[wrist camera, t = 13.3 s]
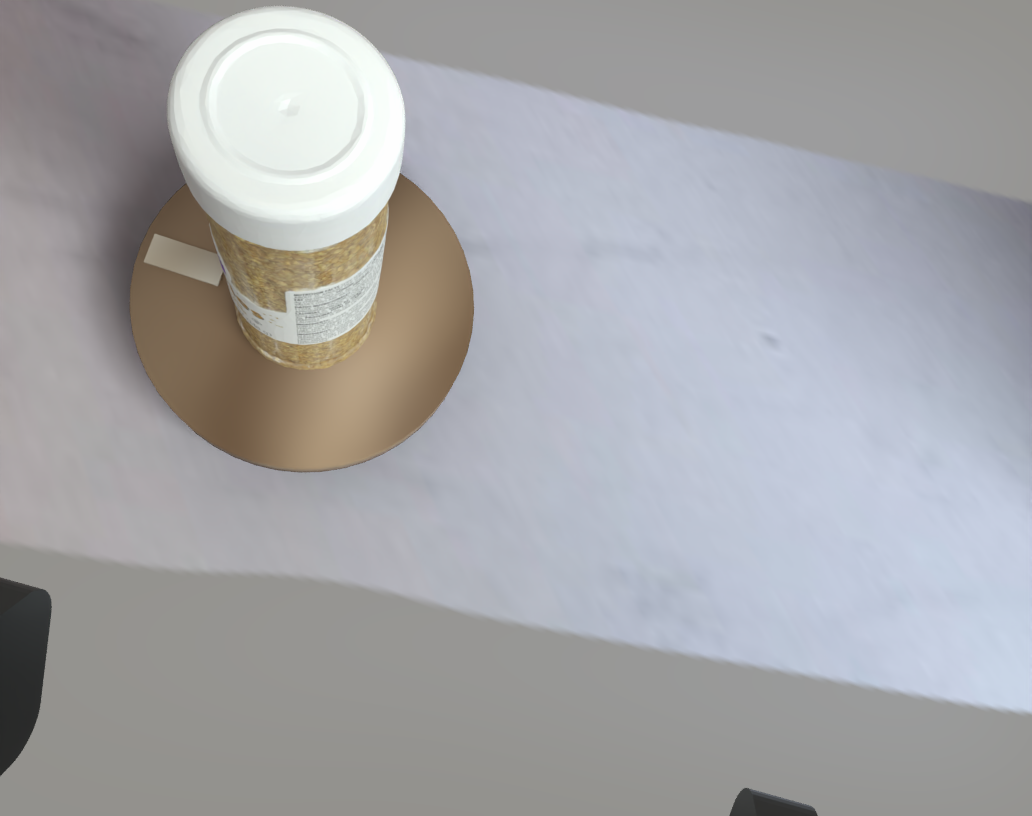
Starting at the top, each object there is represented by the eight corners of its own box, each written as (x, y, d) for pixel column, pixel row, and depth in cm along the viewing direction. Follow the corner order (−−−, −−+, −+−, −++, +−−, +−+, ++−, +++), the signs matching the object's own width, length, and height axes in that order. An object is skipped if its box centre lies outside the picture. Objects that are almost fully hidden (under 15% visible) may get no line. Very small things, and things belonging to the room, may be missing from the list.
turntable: (504, 221, 35) (512, 204, 33) (414, 513, 32) (418, 509, 31) (206, 118, 33) (199, 96, 32) (88, 414, 31) (75, 405, 29)
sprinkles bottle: (213, 270, 31) (122, 36, 18) (344, 221, 32) (349, -34, 19) (271, 397, 30) (220, 252, 17) (401, 343, 31) (446, 168, 18)
